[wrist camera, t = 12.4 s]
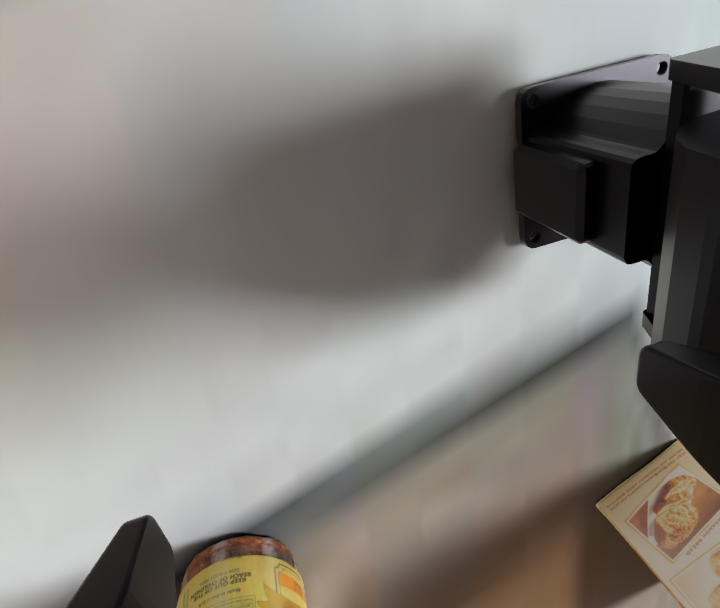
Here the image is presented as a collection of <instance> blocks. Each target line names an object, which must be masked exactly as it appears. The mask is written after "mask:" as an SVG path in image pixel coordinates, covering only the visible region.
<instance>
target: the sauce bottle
mask: <svg viewBox="0 0 720 608" xmlns="http://www.w3.org/2000/svg"><path fill="white" fill-rule="evenodd" d="M177 608H307V604H306V598H305V592H304V585H303V581H302V578H301V576H300V574H299V572H298V567H297V564H296V562H295V559H294V558H293V556H292V554H291V553H290V550H288V549H287V548H286V547H285V545H284V544H283V543H281V542H280V541H279V540H277V539H274V538H272V537H264V538H263V537H260V536H250V535H246V536H241V537H234V538H229V539H227V540H222V541H220V542H218V543H216V544H215V545H211V546H209V547H208V548H206V549H205V550H203V551H202V552H200V553H199V554H197V555H196V556H195V557H194V559H193V560H192V562H191V563H190V565H189V566H188V567H187V570H186V573H185V576H184V578H183V582H182V586H181V590H180V596H179V599H178V602H177Z"/></svg>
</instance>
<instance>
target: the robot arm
mask: <svg viewBox="0 0 720 608" xmlns="http://www.w3.org/2000/svg"><path fill="white" fill-rule="evenodd" d="M658 64H660V68H659V71H658V72H657V73H656V68H657V66H658ZM671 81H672V84H671ZM530 95H533V103H532V104H531V106H529V107H528V105H527V99H528V98H529V96H530ZM515 109H516V138H517V147H516V149H515V151H514V171H515V198H516V210H517V211H518V212H519V224H520V240H521V242H522V243H523V244H524V245H526V246H528V247H530V248H537V247H540V246H544V245H547V244H550V243H554V242H557V241H560V240H564V239H567V238H569V239H570V240H572V241H574V242H576V243H578V244H582V243H587V244H589V245H591V246H593V247H595V248H597V249H599V250H601V251H603V252H605V253H607V254H609V255H610V256H612V257H614V258H616V259H618V260H620V261H622V262H624V263H626V264H633V263H637V262H640V261H642V262H644V263H646V264H648V265H650V266H652V267H651V276H650V285H649V294H648V303H647V309H646V310H644V311H643V319H642V326H643V328H644V329H645V330H646V332H647V333H648V335H649V336H650V337H651V344H650V345H647V346H645V347H643V348H642V349H641V351H640V354H639V362H638V371H637V386H638V389H639V391H640V393H641V394H642V396H643V397H644V398H645V399H646V401H647V402H648V403H649V404H650V406H651V407H652V408H653V409H654V411H655V412H656V413H657V414H658V415H659V417H660V418H661V419H662V420H663V422H664V423H665V424H666V425H667V426H668V428H669V429H670V430H671V431H672V433H673V434H674V435H675V436H676V438H677V439H678V440H679V441H680V442H681V444H682V445H683V446H684V447H685V449H686V450H687V451H688V452H689V453H690V454H691V456H692V457H693V458H694V459H695V460H696V461H697V462H698V464H699V465H700V466H701V467H702V468H703V469H704V470H705V471H706V472H707V473H708V474H709V475H710V476H711V477H712V478H713V479H714V480H715V481H716V482H717V483H718V484H719V485H720V46H716V47H712V48H708V49H704V50H700V51H696V52H692V53H688V54H684V55H680V56H676V57H673V58H672V57H671V56H670V55H668V54H654V55H650V56H646V57H642V58H638V59H634V60H630V61H626V62H622V63H618V64H614V65H610V66H606V67H602V68H598V69H594V70H590V71H586V72H582V73H578V74H574V75H570V76H566V77H562V78H558V79H554V80H550V81H546V82H542V83H538V84H534V85H530V86H526V87H524V88H522V89H521V90H520V92H519V93H518V95H517V97H516V102H515ZM534 232H536V234H535V237H534V238H533V239H531V240H530V237H531V235H532V233H534ZM66 608H176V588H175V569H174V556H173V551H172V548H171V545H170V543H169V542H168V540H167V538H166V537H165V535H164V533H163V532H162V530H161V528H160V527H159V525H158V524H157V522H156V520H155V519H154V518H153V517H152V516H150V515H145V516H142V517H139V518H136V519H133V520H130V521H127V522H126V523H124V524H123V525H122V526H121V527H120V529H119V530H118V532H117V533H116V535H115V536H114V538H113V539H112V540H111V542H110V543H109V545H108V546H107V548H106V549H105V551H104V552H103V554H102V555H101V557H100V558H99V560H98V561H97V563H96V564H95V566H94V567H93V569H92V570H91V571H90V573H89V574H88V576H87V577H86V579H85V580H84V582H83V583H82V585H81V586H80V588H79V589H78V591H77V592H76V594H75V595H74V597H73V598H72V600H71V601H70V603H69V604H68V605H67V607H66Z"/></svg>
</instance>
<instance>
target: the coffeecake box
mask: <svg viewBox="0 0 720 608" xmlns="http://www.w3.org/2000/svg"><path fill="white" fill-rule="evenodd" d="M596 507H597V508H598V509H599V510H600V511H601V512H602V513H603V514H604V516H605V517H606V518H607V519H608V520H609V521H610V522H611V523H612V524H613V526H614V527H615V528H616V529H617V530H618V531H619V533H620V534H621V535H622V536H623V537H624V538H625V540H626V541H627V542H628V543H629V544H630V546H631V547H632V548H633V549H634V550H635V552H636V553H637V554H638V555H639V556H640V558H641V559H642V560H643V561H644V562H645V564H646V565H647V566H648V567H649V568H650V570H651V571H652V572H653V573H654V574H655V575H656V577H657V578H658V579H659V580H660V581H661V583H662V584H663V585H664V586H665V587H666V589H667V590H668V591H669V592H670V593H671V595H672V596H673V597H674V598H675V599H676V601H677V602H678V603H679V604H680V605H681V607H682V608H720V485H719V484H718V483H717V482H716V481H715V480H714V479H713V478H712V477H711V476H710V475H709V474H708V473H707V472H706V471H705V470H704V469H703V468H702V467H701V466H700V465H699V464H698V462H697V461H696V460H695V459H694V458H693V457H692V456H691V454H690V453H689V452H688V451H687V450H686V449H685V447H684V446H683V445H682V444H681V442H680V441H679V440H677V441H675V442H674V443H673V444H672V445H671V446H669V447H668V448H667V449H666V450H665V451H663V452H662V453H661V454H660V455H659V456H657V457H656V458H655V459H654V460H653V461H651V462H650V463H648V464H647V465H646V466H644V467H643V468H642V469H641V470H639V471H638V472H636V473H635V474H634V475H632V476H631V477H629V478H628V479H627V480H625V481H624V482H623V483H621V484H620V485H619V486H617V487H616V488H615V489H614V490H612V491H611V492H610V493H609V494H607V495H606V496H605V497H604V498H602V499H601V500H600V501H599V502H597V503H596Z"/></svg>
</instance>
